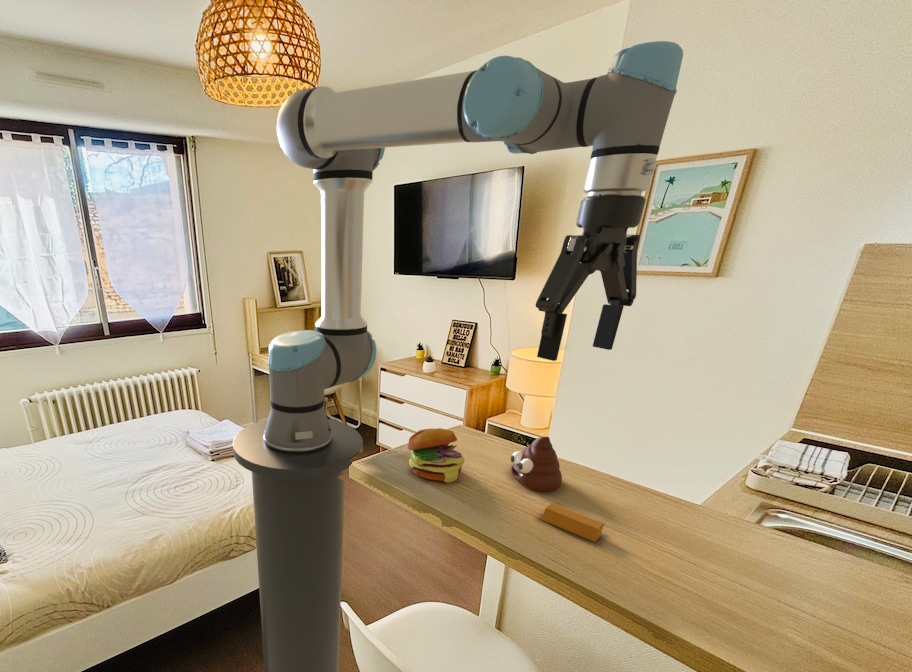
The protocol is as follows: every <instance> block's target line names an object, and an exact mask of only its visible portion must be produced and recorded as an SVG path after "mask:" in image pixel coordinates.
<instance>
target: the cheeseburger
mask: <svg viewBox="0 0 912 672" xmlns="http://www.w3.org/2000/svg"><path fill="white" fill-rule="evenodd" d="M457 441H458V438H457V436H456V434H455V432H454V431H453V430H450V429H446V428H441V427H440V428H439V427H438V428H424V429H419V430H418V431H416V432H415V433H413V434H412V435H411V436H410V437H409V438H408V443H407V449H408V450H410V451H411V452H410V455H411V457H410V458H409V460H408V464H409V467H410V468H411V469H412V472H413V473H414V474H415V475H416V476H418V477H420V478H424V479H428V480H431V481H440V482H442V481H443V482H444V483H446V484H448V483H449V484H450V483H453V482H455V481H457V479H458V477H459V476H460V474H461V472H462V468H463V467H462V466H463V465H464V464H465V457H464V456H463V455H462V453H461V452H460V451H457V450H456V449H455V448H457V446H458V444H456V445H454V444H452V443H455V442H457Z"/></svg>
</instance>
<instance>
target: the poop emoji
mask: <svg viewBox="0 0 912 672" xmlns="http://www.w3.org/2000/svg"><path fill="white" fill-rule="evenodd" d="M510 462H511V463H512V464H511V466H510V474H511V475H512V476H513V477H514V478H516V480H517V481H518V482H519V483H520V484H521V485H522V486H524V487H525V488H527V489H529V490H533V491H536V492H537V491H538V492H552V491H555V490H557V489H559V488H560V487H561V485H562V482H563V474H562V471H561V469H560V468H561V467H560V465H561V464H560V462H559V460H558V456H557V453H556V451H555V449H554V447H553V444H552V442H551V439H550V436H541V437H540V436H539V437H537V438H536V439H535V440H533V441H532V443H530V444H529V445H527V446H526V447H524V449H523V450H521V451H520V450H517V451H515V452H513V453H512V455H510Z"/></svg>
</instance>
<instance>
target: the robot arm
mask: <svg viewBox="0 0 912 672" xmlns="http://www.w3.org/2000/svg"><path fill="white" fill-rule="evenodd" d="M683 58H684V50H683V48H682V47H681V46H680V44H679V43H676V42H675V41H668V40H658V41H648V42H643V43H638V44H635V45H634V44H633V45H632V46H630V47H626V48H623V49H621V50H620V51H618V52H616V54H615V55H614V56H613V58H612V60H611V63H610V65H609V68H608V69H607V73H606V74H603V75H600V76H597V77H593V78H592V77H591V78H587V79H581V80H576V81H569V82H564V81H562V80H560V79H558V78H556V77H554V76H552V75H550V74H548V73H546V71H543V70H541V69H539V68H538V67H536V66H535V65H534V64H533V63H532V62H531V61H529V60H526V59H524V58H522V57H515V56H511V55H498V56H496V57H493V58H491V59H489V60H488V61H487V62H485V63H484V64H483V65H481V66H480V67H479V68H478V69H475V70H469V71H464V72H457V73H449V74H445V75H438V76H433V77H424V78H418V79H412V80H407V81H400V82H394V83H388V84H380V85H374V86H369V87H368V86H367V87H363V88H361V87H360V88H356V89H355V88H354V89H350V90H343V91H337V92H336V91H335V90H334V89H333V88H331V87H329V86H317V87H310V88H303V89H299V90H296V91H294V92H293V93H291V94H290V95H289V96H287V98H286V99H285V100H284V102H282V104H281V107H280V109H279V111H278V115H277V120H276V135H277V140H278V143H279V146H280V148H281V150H282V152H283V154H284V155H285V156H286V157H287V158H288V159H289V160H290V161H291V162H292V163H293V164H295V165H297V166H299V167H302V168H306V169H310V170H312V171H313V172H312V173H313V174H312V175H313V184H314V186H315V187H316V188H317V189H318V191H319V192H320V205H321V207H320V209H321V210H320V213H321V214H320V216H321V217H320V218H321V219H320V221H321V223H320V224H321V225H320V226H321V227H320V228H321V239H320V240H321V316H320V317H319V319H318V320H317V321H316V322H315V323H314V330H312V329H309V330H308V329H303V330H302V329H300V330H298V331H295V330H293V331H287V332H285V333H282V334H279V335H277V336H275V337H274V338H273V339H272V340H271V341H270V343H269V345H268V358H267V363H268V364H267V365H268V375H269V395H270V397H269V398H270V399H269V400H270V410H269V413H268V418H267V420H268V421H267V425H266V428H265V430H264V443H265V445H266V446H267V447H269V448H270V449H272V450H274V451H277V452H281V453H287V454H307V453H313V452H317V451H320V450H322V449H324V448H326V447H328V446H329V445H330V444H331V442H332V432H331V428H330V426H329V422H328V419H329V418H328V416H327V413H326V409H325V390H327V389H330V388H334V387H337V386H341V385H343V384H347V383H352V382H355V381H356V380H359V379H361V378H362V377H364V376H366V375H367V374H368V373H369V372H370V371H371V370H372V369H373V367H374V364H375V363H376V359H377V345H376V341H375V339H374V338H373V335H372V333H370V331H369V330H368V322H367V321H366V320H365V319H364V317H362V284H363V283H362V281H363V250H364V249H363V247H364V246H363V245H364V215H365V213H364V211H365V192H366V191H367V189H368V188H369V187H370V186H371V184H372V183H373V176H374V175H373V174H374V173H373V171H375V170H376V169H377V168H378V166H379V165H380V161H382V160H383V158H384V155H385V150H386V148H397V147H398V148H399V147H413V146H427V145H428V146H429V145H430V146H431V145H443V144H444V145H445V144H460V143H490V142H503V144H504V145H505V147H506V150H507V151H508V152H509V153H511V154H516V155H517V154H530V155H533V154H534V155H535V154H537V153H542V152H550V151H557V150H558V151H559V150H566V149H574V148H587V147H592V151H591V154H590V159H589V162H588V163H589V164H588V166H587V171H586V176H585V180H584V185H583V189H582V192H583V194H586V197H584V198H583V199H582V200H581V201H580V205H579V209H578V212H577V213H578V214H577V217H576V222H575V225H576V227H577V228H578V229H579V228H580V229H582V233H581V235H580V234H576V235H575V234H568V235H566V236H565V237H564V240H563V243H562V247H561V251H560V253H559V256H558V257H557V258H556V261H555V264H554V265H553V268H552V269H551V272H550V274H549V275H548V277H547V280H546V281H545V284H544V286H543V288H542V290H541V291H540V294H539V296H538V297H537V300H536V302H535V308H536V309H538V311H539V312H544V318H543V323H542V328H541V336H540V341H539V346H538V350H537V356H536V357H537V358H541V359H544V360H548V361H552V362H557V360H558V357H559V353H560V348H561V344H562V340H563V334H564V329H565V325H566V321H567V316H568V314H567V313H564V312H565V310H566V309H567V307H568V306H569V304H570V303H571V301H572V300H573V299H574V297H575V296H576V295H577V293H578V291H579V290H580V289H581V287H582V285H583V284H584V283H585V281H586V280H587V278H588V277H589V276H590V275H593V274H594V273H595V272H597V271H598V272H600V275H601V280H602V284H603V288H604V292H605V297H606V301H607V304H606V303H605V304H603V305H602V308H601V312H600V315H599V320H598V322H597V327H596V331H595V335H594V339H593V343H592V347H593V348H598V349H604V350H606V351H607V350H608V351H610V350H611V351H612V350H613V347H614V343H615V340H616V336H617V332H618V328H619V326H620V321H621V319H622V317H621V316H622V314H623V311H624V306H625V307H632V306H633V303H634V301H635V300H636V297H637V281H638V279H637V278H638V277H637V275H638V274H637V273H638V268H637V267H638V248H639V243H640V240H641V239H640V238H641V235H640V234H628V229H630V228H631V229H633V228H636V227H638V226H639V225H640V223H641V219H642V216H643V214H644V213H643V212H644V208H645V204H646V201H647V199H646V196H644V195H643V192H646V191H648V190H649V188H650V185H651V181H652V177H653V173H654V171H655V170H656V169H657V167H658V164H657V163H656V162H657V158H658V155H659V152H660V148H661V144H662V140H663V137H664V134H665V130H666V126H667V124H668V123H667V122H668V120H669V115H670V113H671V110H672V105H673V102H674V99H675V97H676V95H677V91H678V89H677V85H678V80H679V76H680V71H681V67H682V63H683Z"/></svg>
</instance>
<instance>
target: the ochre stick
mask: <svg viewBox="0 0 912 672" xmlns="http://www.w3.org/2000/svg"><path fill="white" fill-rule="evenodd" d="M541 520H542V521H544V522H546V523H548V524H549V525H553V526H555V527H558V528H561V529H562V530H565V531H567V532H570V533H572V534H575V535H577V536H578V537H579V536H580V537H582V538H584V539H586V540H589V541H590V542H591V541H592V542H596V541H597V540H598V539H599V538H600V537H601V536H602V532H603V529H604V526H605V523H604V522H603V521H600V520H597V519H594V518H592V517H589V516H586V515H585V514H583V513H582V514H581V513H580V512H576V511H574V510H571V509H569V508H566V507H564V506H562V505H559V504H556V503H554V502H551V503H549V504H548V505H547V506H545V508H544V511H543V516H542V519H541Z"/></svg>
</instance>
